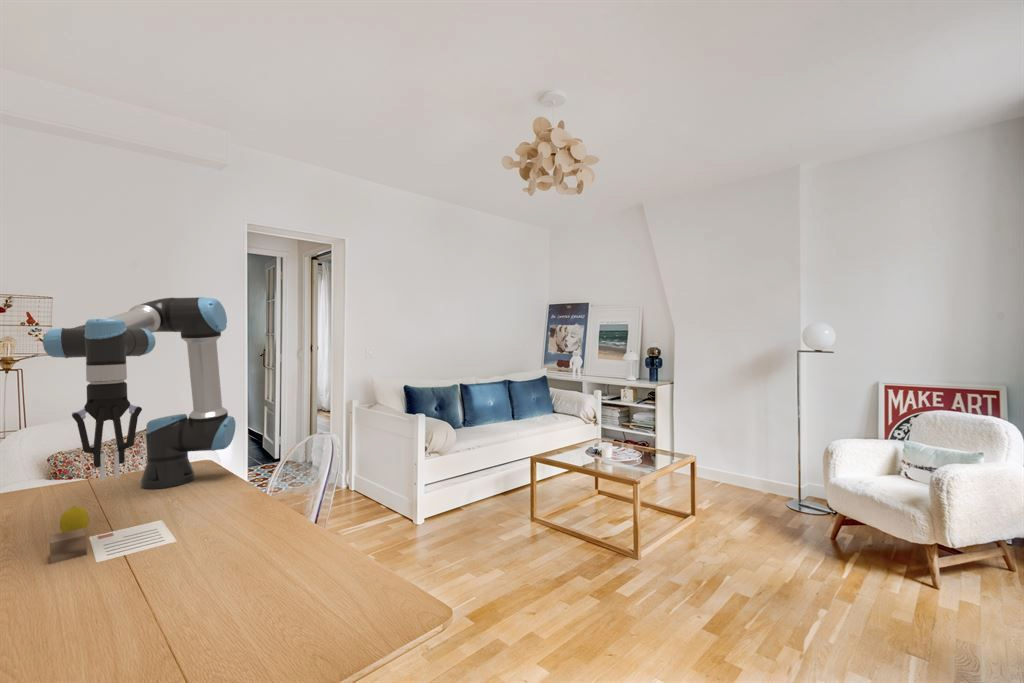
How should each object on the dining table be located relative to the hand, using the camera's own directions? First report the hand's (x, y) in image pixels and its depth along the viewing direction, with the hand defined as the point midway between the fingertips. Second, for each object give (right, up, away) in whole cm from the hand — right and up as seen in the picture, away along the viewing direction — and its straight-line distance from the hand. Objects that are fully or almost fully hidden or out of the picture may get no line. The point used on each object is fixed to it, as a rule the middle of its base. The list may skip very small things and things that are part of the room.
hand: (109, 478), depth 116 cm
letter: (+3, -16, +3) cm, 17 cm away
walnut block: (-5, -17, -5) cm, 18 cm away
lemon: (-13, -17, +5) cm, 22 cm away
